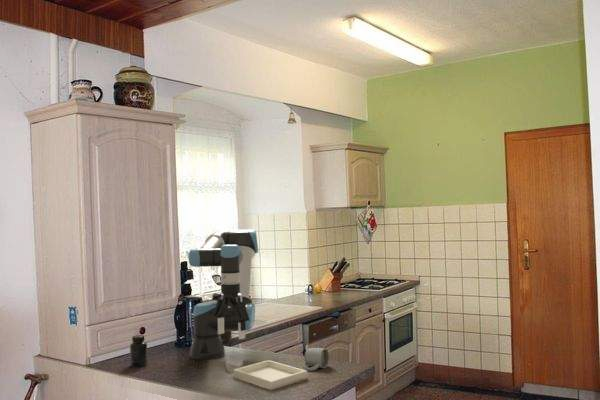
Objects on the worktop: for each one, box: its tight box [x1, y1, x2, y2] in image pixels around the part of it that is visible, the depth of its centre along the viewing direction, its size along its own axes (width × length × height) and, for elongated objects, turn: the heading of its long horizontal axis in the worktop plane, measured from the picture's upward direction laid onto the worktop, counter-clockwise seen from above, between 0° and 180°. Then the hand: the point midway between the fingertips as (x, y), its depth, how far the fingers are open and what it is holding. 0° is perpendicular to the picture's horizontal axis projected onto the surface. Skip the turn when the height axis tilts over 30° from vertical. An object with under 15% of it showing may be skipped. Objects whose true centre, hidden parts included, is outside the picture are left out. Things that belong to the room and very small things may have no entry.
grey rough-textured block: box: [225, 355, 244, 373], centre depth 225 cm, size 10×6×6 cm, turn 169°
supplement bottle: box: [129, 334, 148, 368], centre depth 233 cm, size 7×7×12 cm
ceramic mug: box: [303, 347, 330, 372], centre depth 224 cm, size 11×8×8 cm
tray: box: [232, 359, 308, 391], centre depth 212 cm, size 22×18×3 cm
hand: (231, 336), depth 225 cm, fingers open, 13 cm apart
